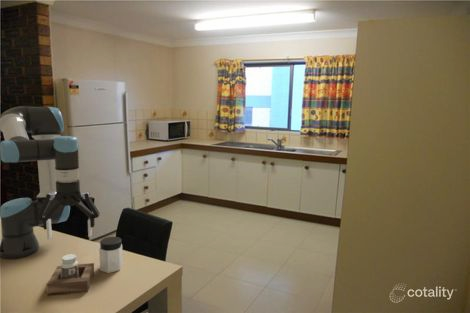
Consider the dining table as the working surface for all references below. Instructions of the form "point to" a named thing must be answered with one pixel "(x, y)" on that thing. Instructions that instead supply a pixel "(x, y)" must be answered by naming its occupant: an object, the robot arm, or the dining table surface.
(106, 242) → the jar
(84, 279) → the socket block
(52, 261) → the dining table surface
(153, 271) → the dining table surface
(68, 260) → the pill bottle
